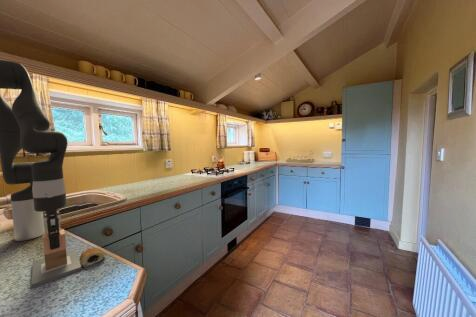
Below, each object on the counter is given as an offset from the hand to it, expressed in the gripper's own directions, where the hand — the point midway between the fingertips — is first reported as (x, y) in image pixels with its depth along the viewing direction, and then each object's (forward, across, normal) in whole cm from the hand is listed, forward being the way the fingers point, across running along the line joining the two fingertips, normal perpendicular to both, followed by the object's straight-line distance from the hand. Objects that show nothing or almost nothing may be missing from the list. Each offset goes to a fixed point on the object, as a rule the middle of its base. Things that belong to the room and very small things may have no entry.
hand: (54, 245), depth 64 cm
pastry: (+8, +3, +9) cm, 12 cm away
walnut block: (+6, 0, 0) cm, 6 cm away
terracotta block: (+1, 0, 0) cm, 1 cm away
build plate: (+7, 0, 0) cm, 7 cm away
